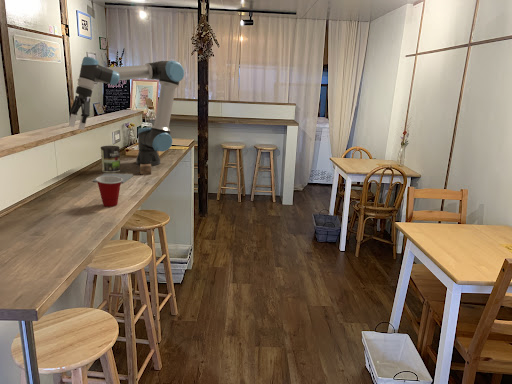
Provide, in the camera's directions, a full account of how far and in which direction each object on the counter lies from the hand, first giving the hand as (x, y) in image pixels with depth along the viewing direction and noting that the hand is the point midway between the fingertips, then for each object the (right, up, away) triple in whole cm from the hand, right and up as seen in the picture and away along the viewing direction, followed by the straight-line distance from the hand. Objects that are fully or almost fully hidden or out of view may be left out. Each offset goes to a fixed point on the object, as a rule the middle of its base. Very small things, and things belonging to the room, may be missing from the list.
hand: (76, 127), depth 203 cm
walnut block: (+30, -23, +24) cm, 44 cm away
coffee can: (+9, -21, +26) cm, 35 cm away
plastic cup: (+30, -39, -32) cm, 59 cm away
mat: (+16, -26, +9) cm, 32 cm away
